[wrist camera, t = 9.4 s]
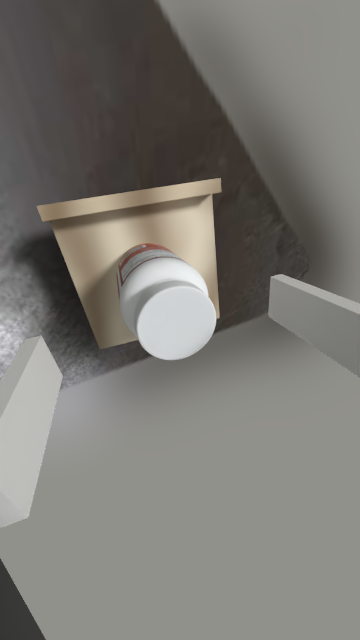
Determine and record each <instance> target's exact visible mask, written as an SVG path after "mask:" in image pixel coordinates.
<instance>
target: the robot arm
mask: <svg viewBox="0 0 360 640" xmlns="http://www.w3.org/2000/svg"><path fill="white" fill-rule="evenodd" d="M268 316H269V317H270V318H272V319H273V320H275V321H276V322H278V323H279V324H281V325H282V326H284V327H285V328H287V329H288V330H290V331H291V332H293V333H294V334H296V335H297V336H299V337H300V338H301V339H303V340H304V341H306V342H308V343H309V344H310V345H312V346H313V347H315V348H317V349H318V350H320V351H321V352H322V353H324V354H326V355H327V356H328V357H330V358H332V359H333V360H334V361H336V362H337V363H339V364H340V365H342V366H343V367H345V368H347V369H348V370H349V371H351V372H352V373H354V374H355V375H357V376H358V377H360V304H359V303H357V302H354V301H351V300H348V299H346V298H343V297H340V296H338V295H335V294H333V293H330V292H327V291H324V290H322V289H319V288H317V287H314V286H312V285H309V284H306V283H304V282H301V281H298V280H296V279H293V278H290V277H288V276H285V275H283V274H280V275H276V276H272V277H271V281H270V298H269V315H268ZM62 378H63V375H62V373H61V372H60V370H59V368H58V366H57V364H56V362H55V360H54V358H53V356H52V355H51V353H50V351H49V349H48V347H47V345H46V343H45V341H44V339H43V337H42V336H41V335H40V336H36V337H32V338H29V339H25V340H24V342H23V343H22V345H21V347H20V348H19V350H18V352H17V353H16V355H15V357H14V358H13V360H12V362H11V363H10V365H9V366H8V368H7V370H6V371H5V373H4V375H3V376H2V378H1V380H0V528H2V527H5V526H7V525H10V524H12V523H15V522H17V521H20V520H23V519H25V518H28V517H29V513H30V509H31V504H32V500H33V496H34V492H35V488H36V484H37V480H38V476H39V472H40V468H41V464H42V460H43V456H44V452H45V448H46V443H47V439H48V435H49V431H50V427H51V423H52V419H53V415H54V411H55V407H56V403H57V399H58V394H59V391H60V386H61V382H62ZM0 640H46V639H45V638H44V636H43V634H42V632H41V630H40V629H39V627H38V625H37V623H36V622H35V620H34V618H33V616H32V614H31V613H30V611H29V609H28V607H27V605H26V604H25V602H24V600H23V598H22V596H21V595H20V593H19V591H18V589H17V587H16V586H15V584H14V582H13V581H12V578H11V577H10V575H9V573H8V571H7V570H6V568H5V566H4V564H3V562H2V561H1V559H0Z"/></svg>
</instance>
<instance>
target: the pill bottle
mask: <svg viewBox="0 0 360 640" xmlns="http://www.w3.org/2000/svg"><path fill="white" fill-rule="evenodd" d="M116 276H117V285H118V294H119V306H120V311H121V315H122V318H123V320H124V322H125V324H126V326H127V327H128V329H129V330H130V331H131V332H132V333H133V334H134V335H135V336H136V337H138V340H139V342H140V344H141V345H142V347H143V348H144V349H145V350H146V351H147V352H148V353H150V354H151V355H153V356H155V357H157V358H161V359H165V360H177V359H182V358H185V357H188V356H190V355H192V354H194V353H196V352H197V351H199V350H200V349H201V348H202V347H203V346H204V345H205V344H206V343H207V342H208V341H209V339H210V338H211V336H212V334H213V332H214V329H215V325H216V311H215V308H214V305H213V303H212V301H211V300H210V298H209V297H208V289H207V286H206V284H205V281H204V279H203V278H202V276H201V275H200V274H199V272H198V271H197V270H196V269H195V268H193V267H192V266H191V265H190V264H188V263H187V262H185V261H184V260H183V259H181V258H180V257H178V256H177V255H176V254H174V253H173V252H172V251H170V250H169V249H167V248H166V247H164V246H162V245H159V244H155V243H142V244H138V245H136V246H134V247H132V248H130V249H129V250H128V251H127V252H126V253H125V254H124V255H123V256H122V258H121V259H120V261H119V264H118V267H117V275H116Z"/></svg>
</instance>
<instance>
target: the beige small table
mask: <svg viewBox="0 0 360 640" xmlns="http://www.w3.org/2000/svg"><path fill="white" fill-rule="evenodd" d="M219 192H221V178H217V179H211V180H204V181H198V182H191V183H184V184H178V185H171V186H165V187H158V188H152V189H145V190H139V191H132V192H125V193H119V194H112V195H106V196H99V197H93V198H86V199H80V200H73V201H67V202H60V203H53V204H47V205H40V206H37V209H38V211H39V214H40V216H41V219H42V221H48V220H49V221H50V223H51V226H52V229H53V231H54V234H55V236H56V239H57V241H58V244H59V247H60V249H61V252H62V254H63V257H64V259H65V262H66V264H67V267H68V270H69V272H70V275H71V277H72V280H73V282H74V285H75V287H76V290H77V293H78V295H79V298H80V300H81V303H82V305H83V308H84V311H85V313H86V316H87V318H88V321H89V323H90V326H91V328H92V331H93V334H94V336H95V339H96V341H97V344H98V346H99V349H100V350H101V349H105V348H109V347H112V346H116V345H120V344H124V343H127V342H131V341H135V340H138V337H136V336H135V335H134V334H133V333H132V332H131V331H130V330H129V329H128V327H127V326H126V324H125V322H124V320H123V318H122V315H121V311H120V306H119V294H118V285H117V276H116V275H117V267H118V264H119V261H120V259H121V258H122V256H123V255H124V254H125V253H126V252H127V251H128V250H129V249H130V248H132V247H134V246H136V245H138V244H142V243H155V244H159V245H162V246H164V247H166V248H167V249H169V250H170V251H172V252H173V253H174V254H176V255H177V256H178V257H180V258H181V259H183V260H184V261H185V262H187V263H188V264H190V265H191V266H192V267H193V268H195V269H196V270H197V271H198V272H199V274H200V275H201V276H202V278H203V279H204V281H205V284H206V286H207V289H208V297H209V298H210V300H211V301H212V303H213V305H214V308H215V311H216V319H217V318H219V302H218V286H217V269H216V253H215V237H214V220H213V204H212V194H213V193H219Z"/></svg>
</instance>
